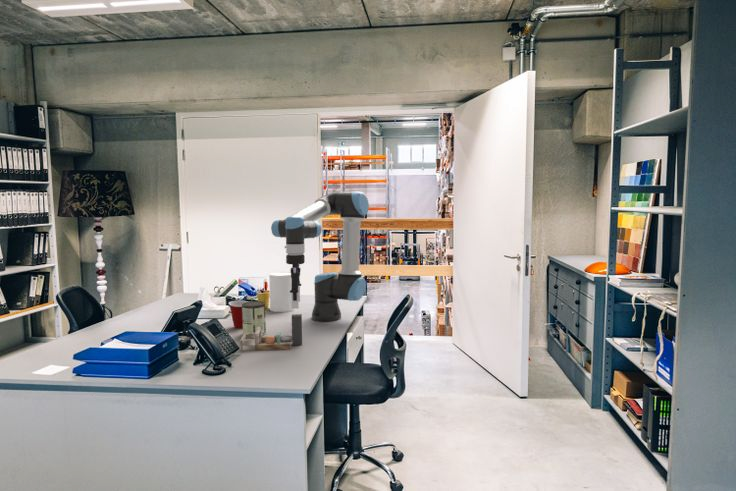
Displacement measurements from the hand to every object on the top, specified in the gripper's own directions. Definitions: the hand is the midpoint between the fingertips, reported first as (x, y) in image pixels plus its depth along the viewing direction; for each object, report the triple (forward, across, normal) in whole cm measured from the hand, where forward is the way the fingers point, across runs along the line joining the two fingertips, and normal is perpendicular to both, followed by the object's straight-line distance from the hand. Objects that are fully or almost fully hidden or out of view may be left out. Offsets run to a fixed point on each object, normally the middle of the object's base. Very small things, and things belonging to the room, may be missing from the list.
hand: (296, 304), depth 197 cm
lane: (+17, 0, -12) cm, 21 cm away
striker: (+16, 0, -3) cm, 17 cm away
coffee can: (+17, -18, -20) cm, 32 cm away
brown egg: (+15, 0, -11) cm, 18 cm away
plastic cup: (+17, -31, -28) cm, 45 cm away
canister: (+17, -67, -11) cm, 70 cm away
